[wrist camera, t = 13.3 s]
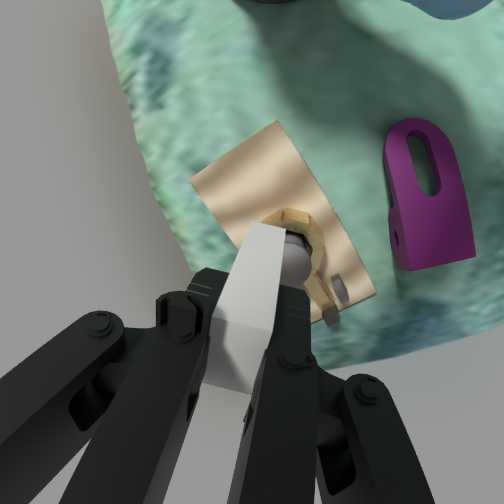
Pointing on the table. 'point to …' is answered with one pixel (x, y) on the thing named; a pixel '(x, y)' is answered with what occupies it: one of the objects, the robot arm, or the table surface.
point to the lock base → (284, 196)
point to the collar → (312, 232)
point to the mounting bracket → (426, 201)
